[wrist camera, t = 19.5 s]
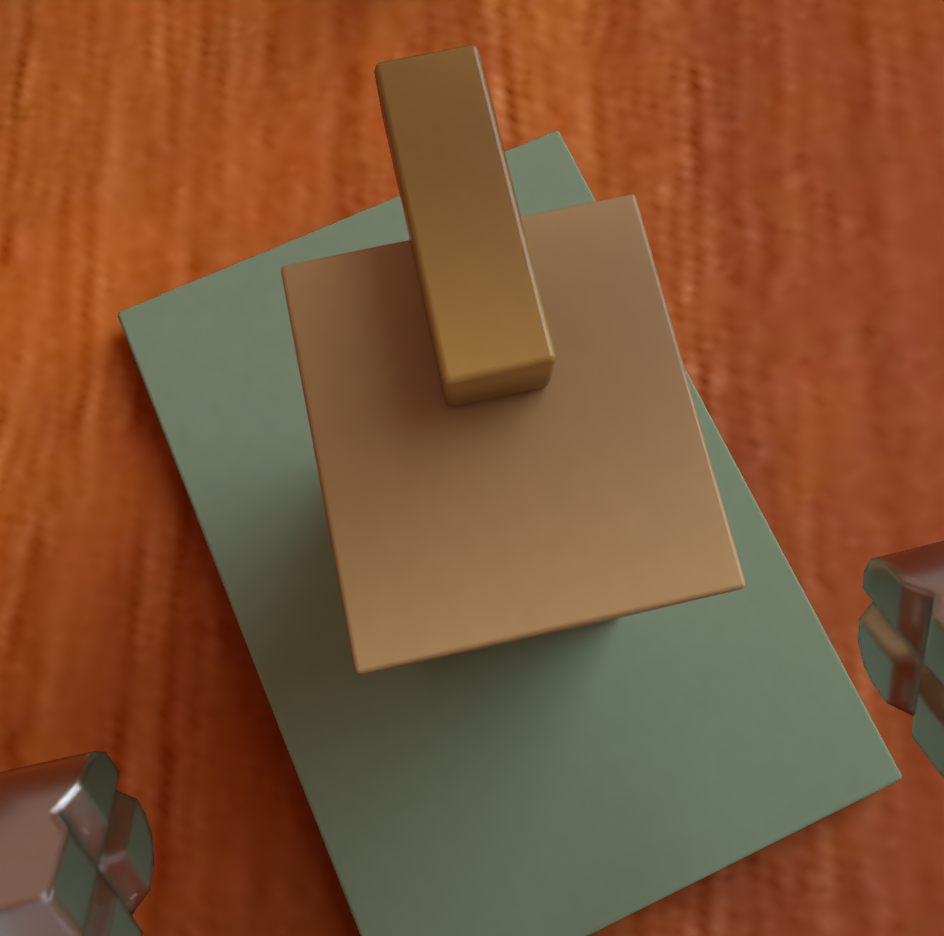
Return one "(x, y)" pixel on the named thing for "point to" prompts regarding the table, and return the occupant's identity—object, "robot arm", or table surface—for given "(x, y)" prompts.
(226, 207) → the table surface
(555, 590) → the tan block with peg
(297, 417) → the mat
